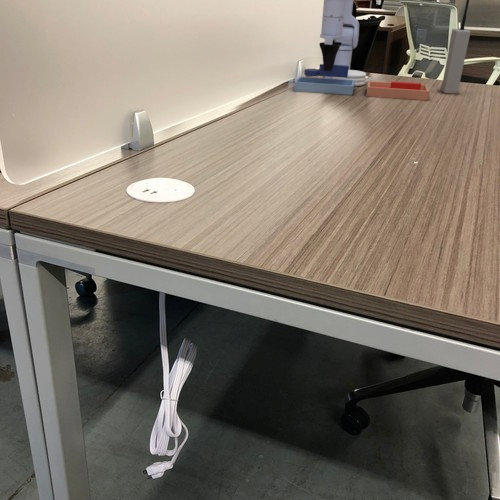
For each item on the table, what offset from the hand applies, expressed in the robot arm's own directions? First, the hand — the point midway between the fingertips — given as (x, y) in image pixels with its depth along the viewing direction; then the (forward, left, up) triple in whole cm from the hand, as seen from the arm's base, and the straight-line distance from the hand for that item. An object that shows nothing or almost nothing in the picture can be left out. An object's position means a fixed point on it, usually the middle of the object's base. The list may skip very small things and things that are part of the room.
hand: (328, 70), depth 142 cm
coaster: (-13, +6, -6) cm, 15 cm away
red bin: (0, +20, -5) cm, 20 cm away
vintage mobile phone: (-10, +35, -6) cm, 36 cm away
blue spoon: (0, 0, -2) cm, 2 cm away
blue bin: (0, 0, -5) cm, 5 cm away
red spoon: (0, +20, -5) cm, 20 cm away
